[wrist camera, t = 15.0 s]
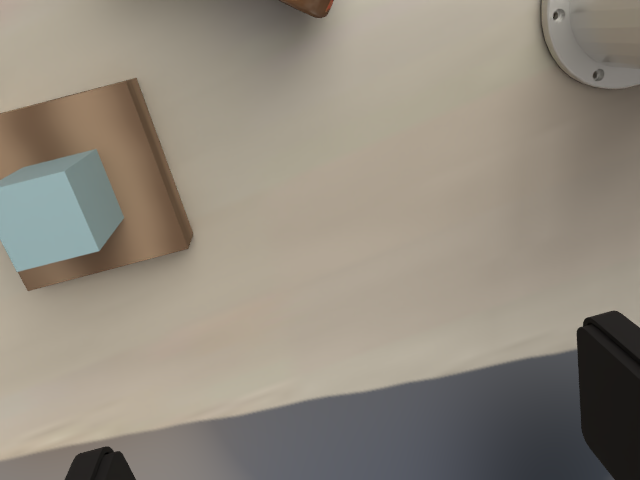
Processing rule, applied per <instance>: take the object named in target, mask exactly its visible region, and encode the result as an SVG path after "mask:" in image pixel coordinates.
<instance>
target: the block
mask: <svg viewBox="0 0 640 480" xmlns="http://www.w3.org/2000/svg"><path fill="white" fill-rule="evenodd" d="M123 219H124V216H123V213H122V211H121V208H120V206H119V204H118V201H117V199H116V196H115V194H114V191H113V189H112V186H111V184H110V181H109V179H108V176H107V174H106V172H105V169H104V167H103V164H102V162H101V159H100V157H99V154H98V152H97V149H94V150H90V151H86V152H82V153H78V154H74V155H70V156H66V157H62V158H58V159H54V160H50V161H46V162H42V163H38V164H34V165H30V166H27V167H23V168H21V169H19V170H17V171H16V172H14V173H12V174H10V175H8V176H7V177H5V178H3V179H1V180H0V240H1V242H2V244H3V246H4V248H5V250H6V252H7V254H8V255H9V257H10V259H11V261H12V263H13V265H14V267H15V269H16V271H17V272H19V271H23V270H27V269H31V268H35V267H39V266H43V265H47V264H50V263H54V262H58V261H62V260H66V259H70V258H74V257H78V256H82V255H86V254H90V253H94V252H98V251H100V250H101V248H102V247H103V246H104V244H105V243H106V242H107V240H108V239H109V237H110V236H111V235H112V233H113V232H114V231H115V229H116V228H117V227H118V225H119V224H120V223H121V221H122V220H123Z"/></svg>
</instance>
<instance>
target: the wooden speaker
mask: <svg viewBox="0 0 640 480" xmlns="http://www.w3.org/2000/svg"><path fill="white" fill-rule="evenodd" d="M279 1H281V2H283V3H285V4H287V5H289V6H291V7H293V8H295V9H298V10H300V11H302V12H304V13H306V14H308V15H311V16H313V17H316V18H322V17H325V16H326V15H327V14H328V12H329V10H330V8H331V6H332V3H333V1H334V0H279Z"/></svg>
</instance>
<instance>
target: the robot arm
mask: <svg viewBox="0 0 640 480" xmlns="http://www.w3.org/2000/svg"><path fill="white" fill-rule="evenodd" d="M541 12H542V27H543V32H544V37H545V41H546V43H547V46H548V48H549V51H550V53H551V55H552V57H553V58H554V59H555V61H556V62H557V64H558V65H559V67H560V68H561V69H562V70H564V71H565V72H566V73H567V74H568V75H569V76H570V77H572V78H574V79H575V80H577V81H579V82H581V83H583V84H586V85H590V86H593V87H597V88H606V89H622V88H629V87H633V86H637V85H640V0H542V4H541ZM553 13H555V18H554V19H553ZM593 73H594V75H593ZM577 348H578V367H579V388H580V407H581V408H580V409H581V428H582V433H583V436H584V439H585V441H586V443H587V444H588V446H589V447H590V449H591V450H592V451H593V453H594V454H595V455H596V457H597V458H598V459H599V460H600V461H601V463H602V464H603V465H604V466H605V468H606V469H607V470H608V472H609V473H610V474H611V475H612V477H613V478H614V479H615V480H640V328H639V327H638V326H637V325H635V324H634V323H633V322H632V321H630V320H629V319H628V318H626V317H625V316H624V315H623V314H621V313H619V312H618V311H610V312H607V313H603V314H599V315H595V316H592V317H588V318H586V319H585V320H584V322H583V327H580V328H578V330H577ZM65 480H136V479H135V477H134V475H133V473H132V471H131V469H130V467H129V465H128V463H127V462H126V460H125V458H124V456H123V454H122V453H121V452H120V451H117V452H114V451H113V450H112V449H111V448H110V447H102V448H99V449H95V450H91V451H87V452H84V453H80V454H78V455H77V456H76V457H75V459H74V460H73V462H72V464H71V467H70V469H69V471H68V474H67V476H66V478H65Z"/></svg>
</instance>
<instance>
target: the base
mask: <svg viewBox="0 0 640 480" xmlns="http://www.w3.org/2000/svg"><path fill="white" fill-rule="evenodd" d="M94 149H97V152H98V154H99V157H100V159H101V162H102V164H103V167H104V169H105V172H106V174H107V176H108V179H109V181H110V184H111V186H112V189H113V191H114V194H115V196H116V199H117V201H118V204H119V206H120V208H121V211H122V213H123V216H124V219H123V220H122V221H121V223H120V224H119V225H118V227H117V228H116V229H115V231H114V232H113V233H112V235H111V236H110V237H109V239H108V240H107V242H106V243H105V244H104V246H103V247H102V248H101V250H100V251H98V252H94V253H90V254H86V255H82V256H78V257H74V258H70V259H66V260H62V261H58V262H54V263H50V264H47V265H43V266H39V267H35V268H31V269H27V270H23V271H19V272H18V273H19V275H20V277H21V279H22V281H23V283H24V285H25V286H26V288H27V290H28V291H30V290H34V289H38V288H41V287H45V286H49V285H53V284H56V283H60V282H64V281H68V280H72V279H75V278H79V277H83V276H87V275H90V274H94V273H98V272H102V271H106V270H109V269H113V268H117V267H121V266H125V265H128V264H132V263H136V262H140V261H143V260H147V259H151V258H155V257H159V256H162V255H166V254H170V253H174V252H177V251H181V250H185V249H188V248H189V245H190V242H191V239H192V236H193V232H192V229H191V226H190V223H189V221H188V218H187V215H186V213H185V210H184V207H183V204H182V202H181V199H180V196H179V193H178V191H177V188H176V185H175V182H174V180H173V177H172V174H171V171H170V169H169V166H168V163H167V161H166V158H165V155H164V152H163V150H162V147H161V144H160V141H159V139H158V136H157V133H156V130H155V128H154V125H153V122H152V119H151V117H150V114H149V111H148V109H147V106H146V103H145V100H144V98H143V95H142V92H141V89H140V87H139V84H138V81H137V78H134V79H130V80H126V81H123V82H119V83H115V84H111V85H107V86H104V87H100V88H96V89H92V90H88V91H84V92H81V93H77V94H73V95H69V96H65V97H61V98H58V99H54V100H50V101H46V102H42V103H39V104H35V105H31V106H27V107H23V108H19V109H16V110H12V111H8V112H4V113H0V180H1V179H3V178H5V177H7V176H8V175H10V174H12V173H14V172H16V171H17V170H19V169H21V168H23V167H27V166H30V165H34V164H38V163H42V162H46V161H50V160H54V159H58V158H62V157H66V156H70V155H74V154H78V153H82V152H86V151H90V150H94Z"/></svg>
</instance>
